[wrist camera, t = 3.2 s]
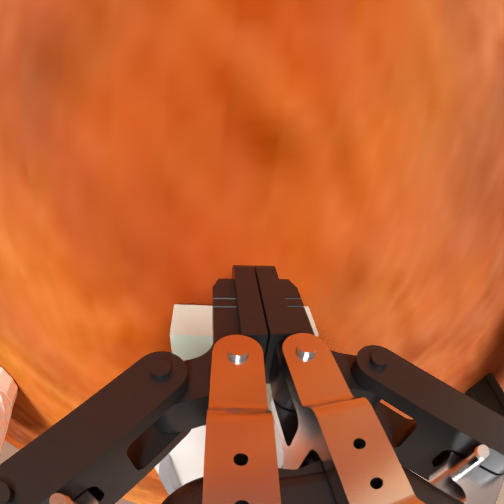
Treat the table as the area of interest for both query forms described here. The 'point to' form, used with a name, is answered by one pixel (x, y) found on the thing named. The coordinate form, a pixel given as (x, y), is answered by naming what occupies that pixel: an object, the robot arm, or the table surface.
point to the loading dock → (193, 460)
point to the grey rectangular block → (201, 333)
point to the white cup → (6, 402)
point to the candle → (488, 394)
